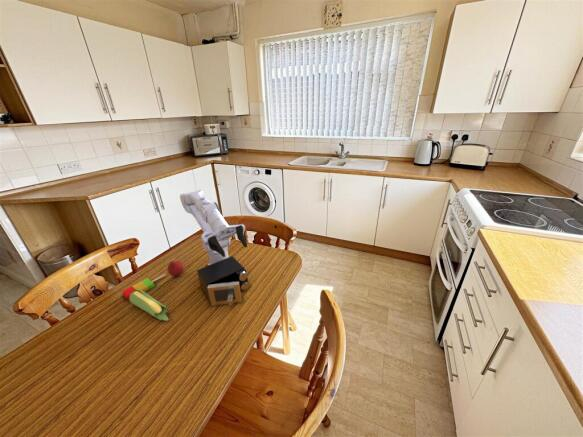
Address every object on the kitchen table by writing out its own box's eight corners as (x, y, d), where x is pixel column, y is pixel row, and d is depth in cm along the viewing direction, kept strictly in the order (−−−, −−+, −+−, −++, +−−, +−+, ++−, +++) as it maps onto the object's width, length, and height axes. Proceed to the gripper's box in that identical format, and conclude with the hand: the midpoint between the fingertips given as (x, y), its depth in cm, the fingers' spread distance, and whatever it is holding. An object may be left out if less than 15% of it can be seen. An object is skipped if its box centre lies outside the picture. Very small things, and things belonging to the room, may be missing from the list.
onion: (179, 281, 93) (175, 264, 90) (167, 279, 94) (161, 263, 91) (188, 272, 98) (184, 255, 95) (176, 270, 99) (171, 254, 96)
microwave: (249, 288, 88) (247, 270, 85) (213, 306, 80) (209, 288, 77) (235, 272, 97) (232, 255, 94) (201, 287, 89) (196, 270, 86)
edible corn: (142, 294, 87) (138, 284, 85) (176, 315, 77) (172, 305, 75) (127, 303, 83) (123, 293, 81) (161, 327, 73) (157, 316, 72)
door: (240, 311, 78) (237, 293, 75) (209, 315, 77) (204, 297, 74) (241, 298, 83) (238, 281, 80) (212, 302, 82) (208, 284, 79)
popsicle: (122, 295, 87) (120, 291, 86) (162, 273, 98) (161, 270, 97) (129, 301, 84) (127, 297, 83) (169, 278, 95) (168, 274, 94)
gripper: (196, 224, 79) (211, 250, 71) (236, 210, 86) (254, 233, 78) (200, 239, 84) (215, 265, 76) (238, 224, 91) (255, 247, 83)
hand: (235, 250), depth 77 cm, fingers open, 7 cm apart
